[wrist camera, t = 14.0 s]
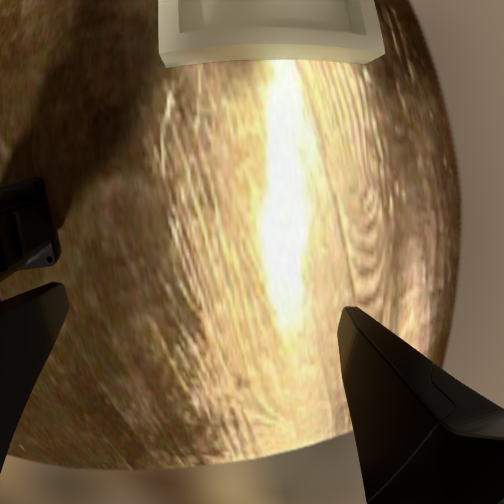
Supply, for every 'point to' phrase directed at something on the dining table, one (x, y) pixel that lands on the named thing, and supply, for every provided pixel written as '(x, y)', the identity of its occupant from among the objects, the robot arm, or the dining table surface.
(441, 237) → the dining table surface
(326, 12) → the tray
